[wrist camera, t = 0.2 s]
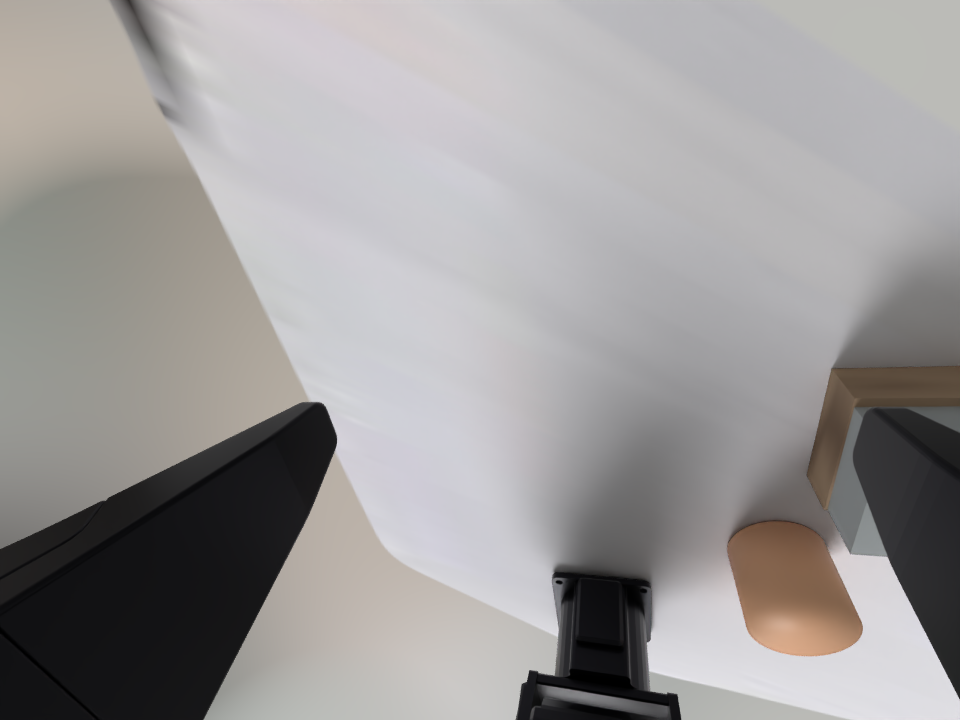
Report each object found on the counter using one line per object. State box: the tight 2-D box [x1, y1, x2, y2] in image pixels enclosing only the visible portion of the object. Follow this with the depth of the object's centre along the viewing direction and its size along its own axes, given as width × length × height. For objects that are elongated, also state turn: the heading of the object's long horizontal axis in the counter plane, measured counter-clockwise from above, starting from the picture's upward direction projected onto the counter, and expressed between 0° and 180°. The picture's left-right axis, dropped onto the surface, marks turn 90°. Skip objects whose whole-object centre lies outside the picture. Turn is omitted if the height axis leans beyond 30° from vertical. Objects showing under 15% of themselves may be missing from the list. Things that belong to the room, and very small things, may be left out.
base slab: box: [807, 366, 960, 510], centre depth 21 cm, size 6×6×2 cm
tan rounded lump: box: [727, 521, 863, 656], centre depth 25 cm, size 5×5×4 cm
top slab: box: [828, 406, 960, 557], centre depth 19 cm, size 6×6×2 cm
